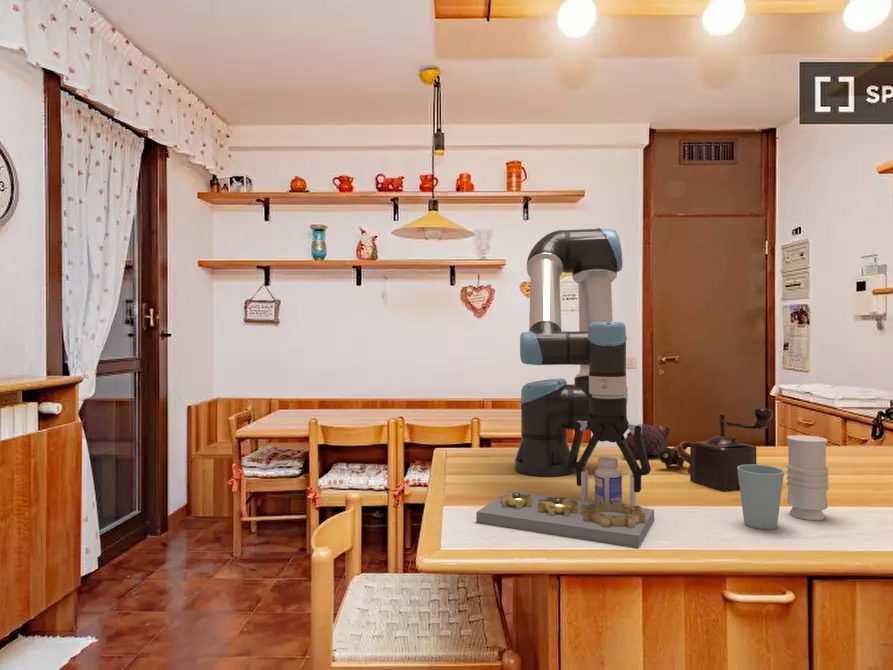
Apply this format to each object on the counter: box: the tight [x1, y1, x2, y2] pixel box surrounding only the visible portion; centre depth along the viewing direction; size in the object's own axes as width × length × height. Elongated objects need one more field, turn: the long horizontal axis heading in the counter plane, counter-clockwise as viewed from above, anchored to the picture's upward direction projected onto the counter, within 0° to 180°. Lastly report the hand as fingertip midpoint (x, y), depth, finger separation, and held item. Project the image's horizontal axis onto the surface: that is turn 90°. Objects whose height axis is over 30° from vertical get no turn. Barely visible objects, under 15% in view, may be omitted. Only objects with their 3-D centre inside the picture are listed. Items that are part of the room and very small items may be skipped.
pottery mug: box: [656, 441, 691, 474], centre depth 154 cm, size 12×10×8 cm
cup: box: [737, 464, 785, 530], centre depth 112 cm, size 8×8×10 cm
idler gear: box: [499, 491, 532, 509], centre depth 119 cm, size 6×6×2 cm
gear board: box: [476, 490, 655, 549], centre depth 115 cm, size 30×16×2 cm, turn 62°
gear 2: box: [581, 500, 647, 528], centre depth 111 cm, size 12×12×1 cm
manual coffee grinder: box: [689, 406, 774, 492], centre depth 141 cm, size 16×11×18 cm
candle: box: [786, 434, 829, 521], centre depth 117 cm, size 7×7×15 cm
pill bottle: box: [594, 456, 623, 502], centre depth 125 cm, size 5×5×10 cm
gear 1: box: [538, 496, 578, 516], centre depth 116 cm, size 8×8×2 cm
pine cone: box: [625, 423, 671, 459], centre depth 171 cm, size 18×10×10 cm
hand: (608, 504), depth 125 cm, fingers open, 9 cm apart
